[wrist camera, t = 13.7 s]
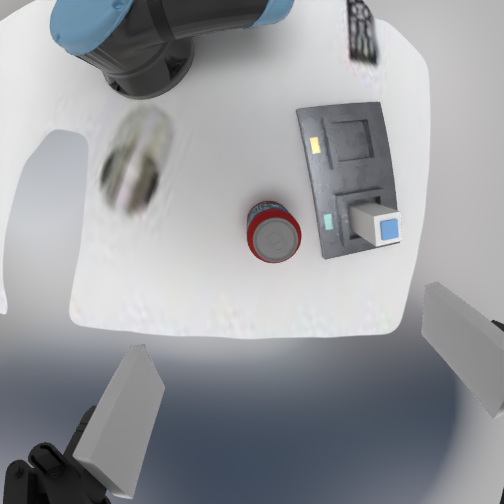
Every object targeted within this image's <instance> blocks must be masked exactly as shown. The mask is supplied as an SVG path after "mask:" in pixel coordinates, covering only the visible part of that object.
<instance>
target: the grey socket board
mask: <svg viewBox="0 0 504 504" xmlns="http://www.w3.org/2000/svg"><path fill="white" fill-rule="evenodd" d="M296 112H297V116H298V121H299V125H300V130H301V134H302V139H303V144H304V149H305V154H306V159H307V164H308V169H309V175H310V180H311V186H312V191H313V197H314V203H315V209H316V215H317V222H318V228H319V235H320V242H321V249H322V256H323V258H324V259H330V258H334V257H339V256H343V255H348V254H352V253H357V252H361V251H366V250H370V249H375V248H379V247H383V246H388V245H392V244H396V243H400V241H399V242H395V243H390V244H386V245H382V246H377V247H376V246H374V245H373V244H371V243H370V242H368V241H367V240H365V239H364V238H362V237H361V236H359V235H358V234H356V233H355V232H353V231H352V230H351V227H350V219H349V211H348V205H353V204H359V203H364V202H373V203H376V204H379V205H382V206H385V207H388V208H391V209H394V210H397V201H396V191H395V183H394V175H393V168H392V161H391V155H390V149H389V143H388V138H387V132H386V127H385V122H384V118H383V113H382V109H381V104H380V102H368V103H351V104H339V105H328V106H318V107H310V108H302V109H298V110H297V111H296Z"/></svg>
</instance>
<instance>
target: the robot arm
mask: <svg viewBox="0 0 504 504" xmlns="http://www.w3.org/2000/svg"><path fill="white" fill-rule="evenodd" d="M293 3H294V0H57V2H56V4H55V6H54V8H53V11H52V14H51V18H50V33H51V36H52V38H53V40H54V41H55V42H56V43H57V44H58V45H60V46H61V47H63V48H64V49H65V50H66V51H67V53H70V54H71V55H74V56H76V57H78V58H80V59H82V60H84V61H86V62H87V63H89V64H91V65H93V66H95V67H97V68H99V69H101V70H102V72H103V74H104V77H105V79H106V81H107V83H108V84H109V86H110V87H111V88H112V89H113V90H115V91H116V92H118V93H119V94H121V95H123V96H125V97H128V98H132V99H149V98H153V97H156V96H159V95H161V94H163V93H165V92H167V91H169V90H170V89H172V88H173V87H174V86H175V85H177V84H178V83H179V82H180V81H181V80H182V78H183V77H184V76H185V75H186V73H187V71H188V70H189V68H190V66H191V63H192V60H193V54H194V47H193V42H192V40H191V37H193V36H197V35H202V34H207V33H212V32H218V31H224V30H230V29H237V28H243V29H250V28H253V27H255V26H260V25H268V24H274V23H277V22H279V21H281V20H283V19H284V18H285V17H286V16H287V15H288V13H289V12H290V10H291V8H292V6H293ZM421 334H422V335H423V336H424V338H425V339H426V340H427V341H428V342H429V343H430V344H431V345H432V346H433V347H434V348H435V350H436V351H437V352H438V353H439V354H440V355H441V357H442V358H443V359H444V360H445V361H446V362H447V363H448V365H449V366H450V367H451V368H452V369H453V370H454V371H455V373H456V374H457V375H458V376H459V377H460V379H461V380H462V381H463V382H464V383H465V384H466V386H467V387H468V388H469V389H470V391H471V392H472V393H473V394H474V396H475V397H476V398H477V399H478V400H479V402H480V403H481V404H482V406H483V407H484V408H485V409H486V411H487V412H488V413H489V414H490V416H491V417H492V418H493V419H494V420H495V419H496V418H497V417H499V416H500V415H502V414H503V413H504V324H502V323H500V322H497V321H495V320H492V321H489V320H488V319H487V318H485V317H484V316H483V315H482V314H481V313H479V312H478V311H477V310H475V309H474V308H473V307H471V306H470V305H469V304H467V303H466V302H465V301H463V300H462V299H461V298H459V297H458V296H457V295H455V294H454V293H452V292H451V291H450V290H448V289H447V288H446V287H444V286H443V285H441V284H440V283H439V282H435V283H431V284H429V285H425V295H424V311H423V322H422V332H421ZM164 390H165V387H164V385H163V383H162V381H161V379H160V377H159V374H158V372H157V370H156V368H155V366H154V364H153V362H152V360H151V358H150V355H149V353H148V351H147V349H146V347H145V344H141V345H131V346H130V347H129V349H128V350H127V352H126V354H125V356H124V358H123V359H122V361H121V363H120V365H119V366H118V368H117V370H116V372H115V374H114V375H113V377H112V379H111V381H110V383H109V385H108V387H107V388H106V390H105V392H104V394H103V396H102V398H101V400H100V401H99V403H98V405H97V406H92V407H91V408H90V409H89V410H88V411H87V412H86V413H85V414H84V416H83V418H82V419H81V421H80V424H79V426H78V427H77V429H76V432H75V433H74V435H73V436H72V439H71V440H70V442H69V444H68V446H67V448H66V450H65V452H64V454H63V455H62V454H61V453H60V452H59V451H58V450H57V449H56V447H55V446H54V445H52V444H51V443H46V442H44V443H40V444H38V445H36V446H35V447H34V448H33V449H32V450H31V452H30V454H29V456H28V462H29V463H30V464H31V465H32V466H33V467H34V468H31V467H30V466H29V465H28V464H27V463H26V462H25V461H23V460H16V461H14V462H12V463H11V464H10V465H9V466H8V468H7V471H6V476H5V485H4V496H3V504H111V502H110V500H109V499H108V498H107V496H105V493H106V491H107V489H108V490H109V491H110V492H111V493H112V494H113V495H115V496H117V497H123V498H128V499H133V495H134V492H135V488H136V484H137V481H138V477H139V474H140V470H141V466H142V463H143V459H144V456H145V452H146V448H147V445H148V442H149V438H150V435H151V432H152V428H153V425H154V422H155V419H156V415H157V412H158V409H159V405H160V402H161V399H162V396H163V393H164ZM500 504H504V489H503V493H502V497H501V501H500Z"/></svg>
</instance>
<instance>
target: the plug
mask: <svg viewBox="0 0 504 504" xmlns="http://www.w3.org/2000/svg"><path fill="white" fill-rule="evenodd" d="M348 211H349V219H350V227H351V230H352V231H353V232H355V233H356V234H358V235H359V236H361V237H362V238H364V239H365V240H367V241H368V242H370V243H371V244H373V245H374V246H376V247H377V246H382V245H386V244H390V243H395V242H399V241H402V233H401V218H400V211H397V210H394V209H391V208H388V207H385V206H382V205H379V204H376V203H373V202H364V203H359V204H353V205H348Z"/></svg>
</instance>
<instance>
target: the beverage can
mask: <svg viewBox="0 0 504 504" xmlns="http://www.w3.org/2000/svg"><path fill="white" fill-rule="evenodd" d="M247 242H248V246H249V248H250V250H251V252H252V253H253V254H254V255H255V256H256V257H257V258H258V259H260V260H262V261H264V262H268V263H280V262H283V261H286V260H287V259H289V258H290V257H292V256H293V255H294V254H295V253H296V251H297V250H298V248H299V246H300V243H301V230H300V227H299V224H298V223H297V221H296V220H295V219H294V217H293V216H292V215H291V214H290V213H289V212H288V211H287V210H286V209H285V208H284V207H283V206H282V205H280V204H278V203H276V202H272V201H265V202H261V203H259V204H257V205H256V206H254V207H253V208H252V210H251V211H250V213H249V215H248V218H247Z"/></svg>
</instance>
